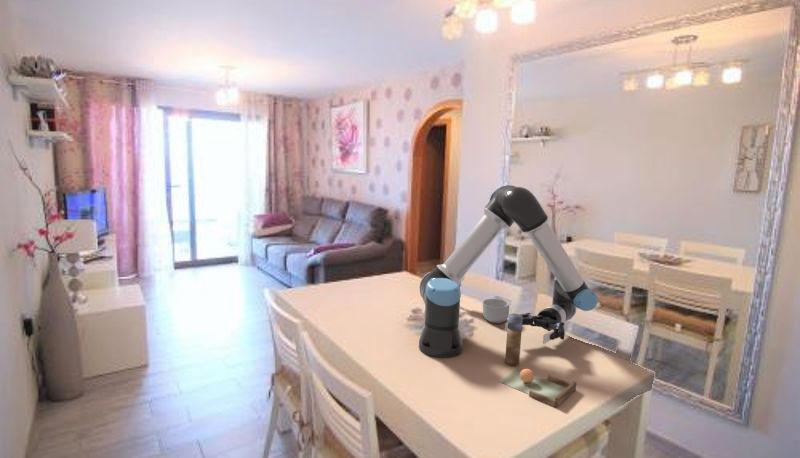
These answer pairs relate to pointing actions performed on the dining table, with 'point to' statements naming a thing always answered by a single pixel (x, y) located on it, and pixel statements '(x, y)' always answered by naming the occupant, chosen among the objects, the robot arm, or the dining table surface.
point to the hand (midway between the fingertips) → (524, 333)
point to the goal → (542, 388)
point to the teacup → (495, 310)
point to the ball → (526, 375)
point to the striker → (513, 340)
